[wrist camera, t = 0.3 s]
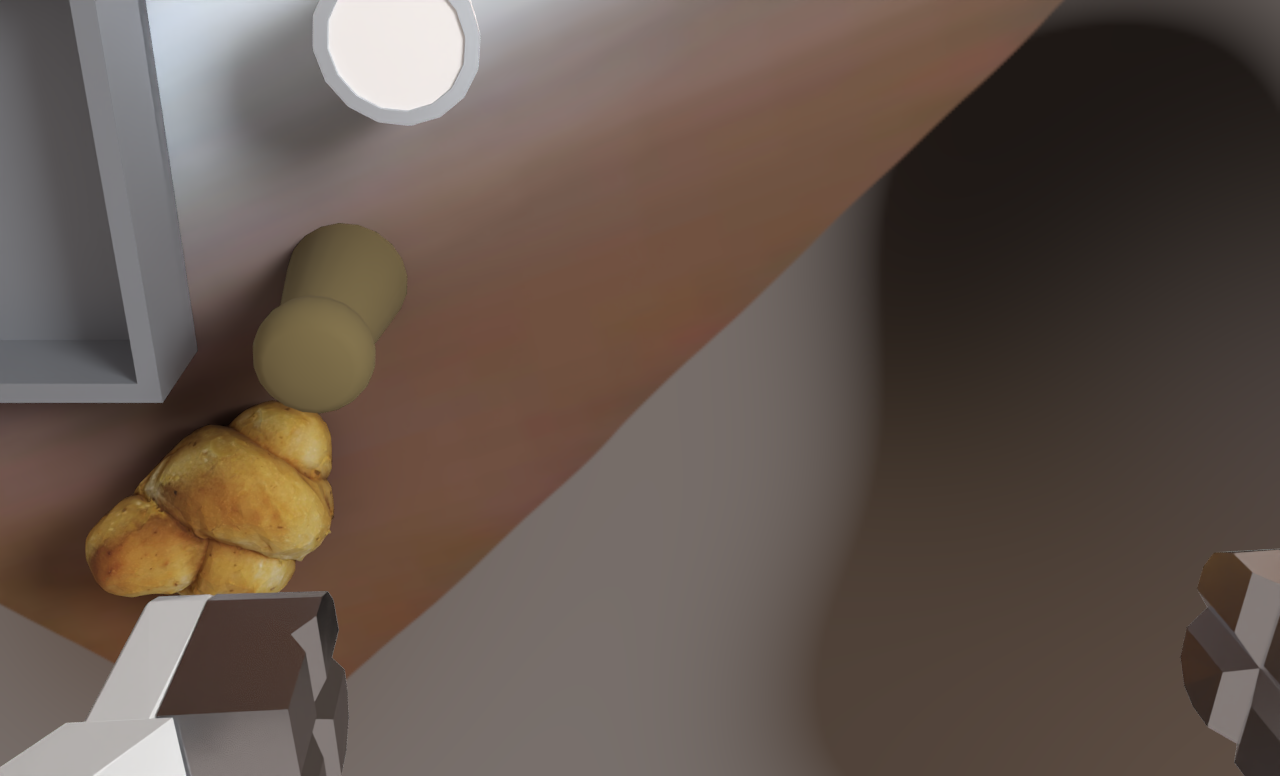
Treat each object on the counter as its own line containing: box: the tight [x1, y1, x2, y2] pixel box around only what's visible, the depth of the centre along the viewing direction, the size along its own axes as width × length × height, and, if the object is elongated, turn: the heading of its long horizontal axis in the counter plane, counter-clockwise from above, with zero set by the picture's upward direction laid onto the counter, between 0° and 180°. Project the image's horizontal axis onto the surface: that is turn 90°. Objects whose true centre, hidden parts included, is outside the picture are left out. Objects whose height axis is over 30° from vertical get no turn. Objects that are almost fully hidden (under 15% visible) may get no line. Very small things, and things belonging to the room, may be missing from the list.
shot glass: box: [313, 0, 481, 126], centre depth 49 cm, size 7×7×7 cm
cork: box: [253, 223, 407, 413], centre depth 52 cm, size 6×6×11 cm
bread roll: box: [85, 400, 334, 597], centre depth 59 cm, size 13×10×8 cm
